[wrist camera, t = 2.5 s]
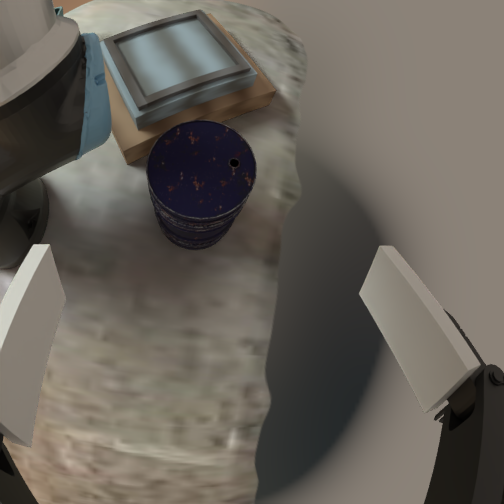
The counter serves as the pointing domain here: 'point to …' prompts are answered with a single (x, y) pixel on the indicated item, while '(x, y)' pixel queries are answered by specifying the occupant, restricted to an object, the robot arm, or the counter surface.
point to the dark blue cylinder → (199, 181)
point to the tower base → (177, 79)
